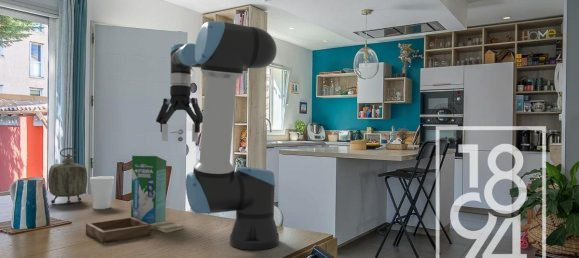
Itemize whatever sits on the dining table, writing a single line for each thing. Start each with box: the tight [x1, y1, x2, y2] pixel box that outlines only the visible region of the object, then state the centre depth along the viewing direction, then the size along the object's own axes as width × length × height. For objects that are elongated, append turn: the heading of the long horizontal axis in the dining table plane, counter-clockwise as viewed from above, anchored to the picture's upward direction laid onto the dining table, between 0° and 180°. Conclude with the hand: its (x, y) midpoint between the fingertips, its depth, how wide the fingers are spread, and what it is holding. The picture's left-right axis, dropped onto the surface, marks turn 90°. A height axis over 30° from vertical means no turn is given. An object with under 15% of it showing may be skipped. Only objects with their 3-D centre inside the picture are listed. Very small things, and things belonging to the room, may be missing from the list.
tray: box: [85, 216, 152, 245], centre depth 130 cm, size 15×15×3 cm
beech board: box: [150, 220, 184, 233], centre depth 140 cm, size 10×7×1 cm
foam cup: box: [89, 175, 115, 210], centre depth 173 cm, size 10×9×13 cm
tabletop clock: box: [47, 147, 88, 205], centre depth 181 cm, size 14×9×25 cm, turn 130°
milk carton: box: [130, 154, 167, 224], centre depth 147 cm, size 9×9×25 cm
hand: (179, 141), depth 153 cm, fingers open, 13 cm apart
